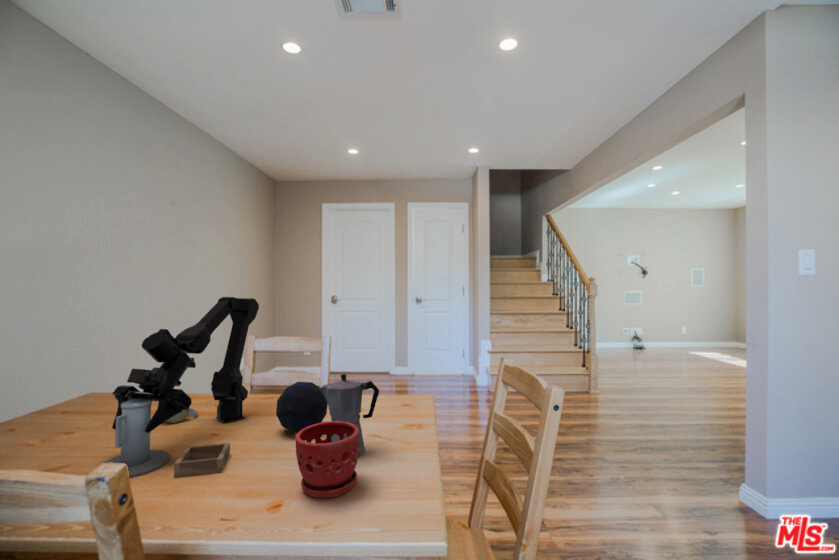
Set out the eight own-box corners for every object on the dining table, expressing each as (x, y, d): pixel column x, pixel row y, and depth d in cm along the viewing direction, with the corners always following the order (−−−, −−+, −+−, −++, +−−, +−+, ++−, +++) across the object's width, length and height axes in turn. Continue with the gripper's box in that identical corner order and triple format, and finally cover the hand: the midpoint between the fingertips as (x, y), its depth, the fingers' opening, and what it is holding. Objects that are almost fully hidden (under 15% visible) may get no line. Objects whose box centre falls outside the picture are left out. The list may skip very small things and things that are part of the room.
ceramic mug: (163, 426, 118) (164, 401, 119) (156, 420, 124) (157, 395, 124) (201, 419, 126) (202, 394, 126) (193, 413, 132) (194, 390, 132)
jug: (136, 454, 96) (138, 397, 97) (156, 457, 95) (158, 399, 95) (105, 468, 89) (107, 406, 89) (126, 471, 88) (128, 409, 88)
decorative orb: (261, 411, 117) (277, 375, 111) (305, 400, 128) (322, 367, 122) (280, 451, 109) (299, 415, 103) (325, 435, 121) (344, 402, 115)
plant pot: (320, 468, 92) (321, 417, 92) (370, 479, 87) (370, 424, 87) (281, 496, 80) (282, 436, 80) (335, 510, 75) (336, 447, 75)
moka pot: (321, 445, 105) (321, 370, 105) (378, 443, 106) (379, 369, 107) (314, 461, 95) (315, 378, 96) (378, 459, 97) (378, 377, 97)
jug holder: (186, 459, 96) (187, 446, 96) (229, 454, 99) (229, 442, 99) (174, 477, 87) (174, 463, 87) (221, 472, 90) (221, 458, 90)
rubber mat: (160, 448, 103) (160, 444, 103) (177, 464, 93) (177, 461, 93) (91, 465, 92) (91, 462, 92) (103, 486, 83) (103, 482, 83)
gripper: (120, 353, 99) (72, 410, 88) (183, 356, 95) (141, 416, 84) (147, 377, 107) (106, 433, 96) (206, 381, 103) (171, 439, 92)
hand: (129, 430), depth 92 cm, fingers open, 9 cm apart
